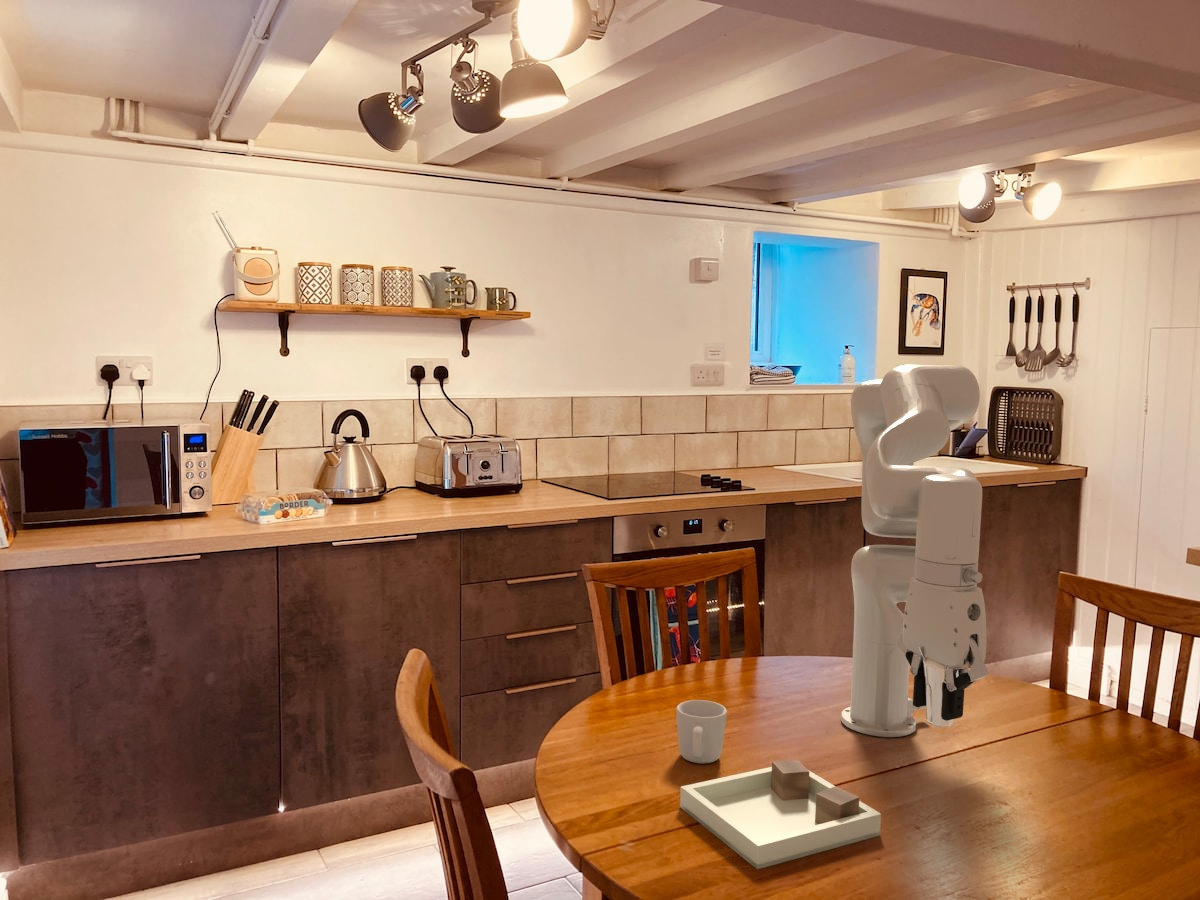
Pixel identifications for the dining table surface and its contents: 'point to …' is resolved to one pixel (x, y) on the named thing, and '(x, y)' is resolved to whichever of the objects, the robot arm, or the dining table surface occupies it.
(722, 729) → the cup
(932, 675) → the milkshake
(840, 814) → the walnut block
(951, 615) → the robot arm
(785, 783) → the walnut block
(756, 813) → the tray
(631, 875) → the dining table surface
